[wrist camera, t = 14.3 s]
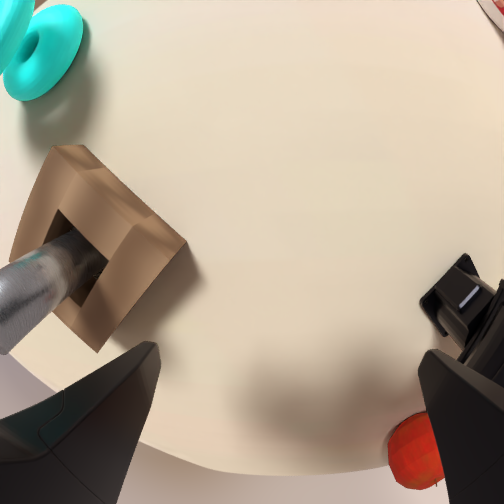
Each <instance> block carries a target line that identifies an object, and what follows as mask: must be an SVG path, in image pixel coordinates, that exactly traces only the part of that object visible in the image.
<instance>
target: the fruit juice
mask: <svg viewBox="0 0 504 504" xmlns="http://www.w3.org/2000/svg"><path fill="white" fill-rule="evenodd" d="M478 2H479V4H480V5H481V7H482V8H483V9H484V11H485V12H486V13H487V15H488V16H489V17H490V18H491V20H492V21H493V22H494V23H495V24H496V25H497V26H498V27H499V28H500V29H501V30H502V31H503V32H504V0H478Z"/></svg>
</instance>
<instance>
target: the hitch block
mask: <svg viewBox="0 0 504 504" xmlns="http://www.w3.org/2000/svg"><path fill="white" fill-rule="evenodd" d="M73 225H74V226H75V227H76V228H77V229H78V230H79V231H80V232H81V234H82V235H83V236H84V237H85V238H86V239H87V240H88V241H89V242H90V243H91V244H92V245H93V246H94V247H95V248H96V249H97V250H98V251H99V252H101V253H102V254H103V255H104V256H105V257H106V258H107V259H108V260H109V262H108V264H107V265H106V267H105V269H104V270H103V272H102V273H101V275H100V277H99V278H98V280H97V279H96V278H95V277H91V278H90V279H89V280H88V281H87V282H85V283H84V284H83V285H82V286H81V287H79V288H78V289H77V290H76V291H75V292H73V293H72V294H71V295H70V296H69V297H68V298H66V299H65V300H64V301H63V302H62V303H61V304H60V305H58V306H57V307H56V308H55V309H54V310H53V311H52V312H53V313H54V314H55V315H56V316H57V317H58V318H59V319H60V320H61V321H62V322H63V323H64V324H65V325H66V326H67V327H69V328H70V329H71V330H72V331H73V332H74V333H75V334H76V335H77V336H78V337H79V338H80V339H81V340H83V341H84V342H85V343H86V344H87V345H88V346H89V347H91V348H92V349H93V350H94V351H95V352H96V353H98V352H99V350H100V349H101V348H102V346H103V345H104V344H105V342H106V341H107V340H108V338H109V337H110V336H111V334H112V333H113V332H114V330H115V329H116V328H117V327H118V325H119V324H120V323H121V321H122V320H123V319H124V317H125V316H126V315H127V313H128V312H129V311H130V310H131V308H132V307H133V306H134V305H135V303H136V302H137V301H138V299H139V298H140V297H141V296H142V294H143V293H144V292H145V291H146V289H147V288H148V287H149V286H150V284H151V283H152V282H153V281H154V280H155V278H156V277H157V276H158V275H159V273H160V272H161V271H162V270H163V269H164V267H165V266H166V265H167V264H168V263H169V261H170V260H171V259H172V258H173V257H174V255H175V254H176V253H177V252H178V251H179V250H180V248H181V247H182V246H183V245H184V244H185V243H186V240H185V239H184V238H182V237H181V236H180V235H179V234H178V233H177V232H176V231H175V230H174V229H172V228H171V227H170V226H169V225H168V224H167V223H166V222H165V221H164V220H162V219H161V218H160V217H159V216H158V215H157V214H156V213H155V212H154V211H153V210H151V209H150V208H149V207H148V206H147V205H146V204H145V203H144V202H143V201H142V200H141V199H140V198H138V197H137V196H136V195H135V194H134V193H133V192H132V191H131V190H130V189H129V188H128V187H127V186H126V185H125V184H123V183H122V182H121V181H120V180H119V179H118V178H117V177H116V176H115V175H114V174H113V173H112V172H111V171H110V170H109V169H108V168H107V167H106V166H105V165H104V164H102V163H101V162H100V161H99V160H98V159H97V158H96V157H95V156H94V155H93V154H92V153H91V152H90V151H89V150H88V149H87V148H86V147H85V146H84V145H60V146H52V147H51V149H50V151H49V153H48V155H47V157H46V159H45V161H44V164H43V166H42V168H41V170H40V172H39V174H38V177H37V179H36V181H35V184H34V186H33V188H32V191H31V193H30V196H29V198H28V201H27V204H26V206H25V209H24V212H23V215H22V217H21V220H20V223H19V226H18V229H17V233H16V236H15V239H14V243H13V246H12V250H11V254H10V257H9V262H10V263H12V262H13V261H15V260H17V259H19V258H20V257H22V256H24V255H26V254H28V253H29V252H31V251H33V250H35V249H37V248H39V247H40V246H42V245H44V244H46V243H48V242H50V241H52V240H54V239H56V238H58V237H60V236H62V235H64V234H66V233H68V232H70V230H71V228H72V226H73Z"/></svg>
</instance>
